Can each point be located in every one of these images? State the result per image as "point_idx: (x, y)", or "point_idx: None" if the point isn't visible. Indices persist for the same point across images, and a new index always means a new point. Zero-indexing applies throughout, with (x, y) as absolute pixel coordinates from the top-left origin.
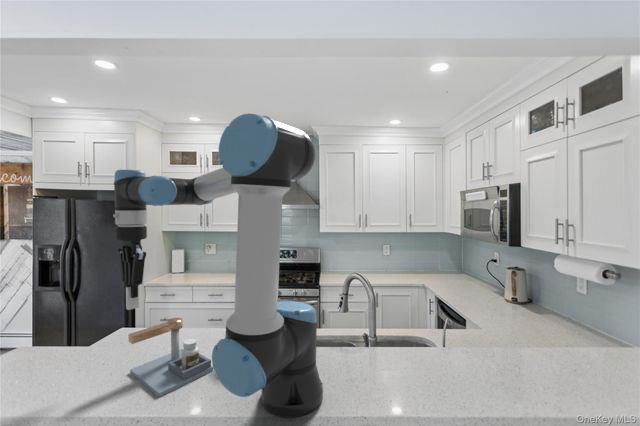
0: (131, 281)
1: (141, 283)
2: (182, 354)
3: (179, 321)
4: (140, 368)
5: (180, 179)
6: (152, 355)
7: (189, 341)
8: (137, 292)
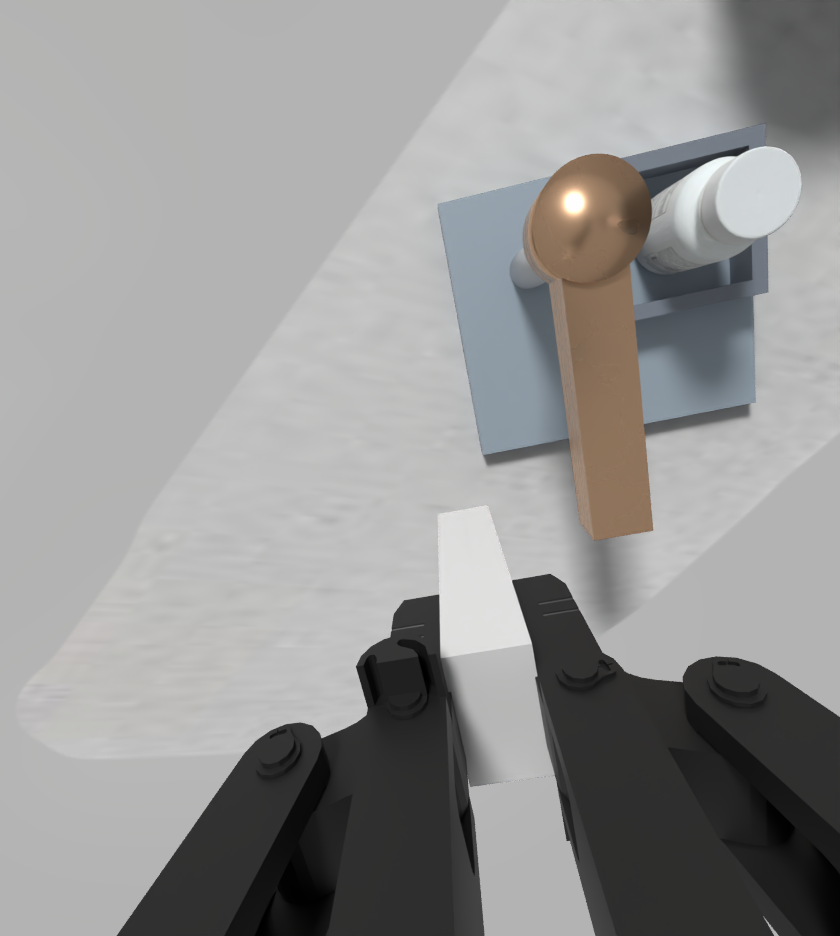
0: (744, 876)
1: (760, 678)
2: (715, 261)
3: (641, 193)
4: (505, 421)
5: None
6: (379, 344)
7: (757, 197)
8: (579, 610)
